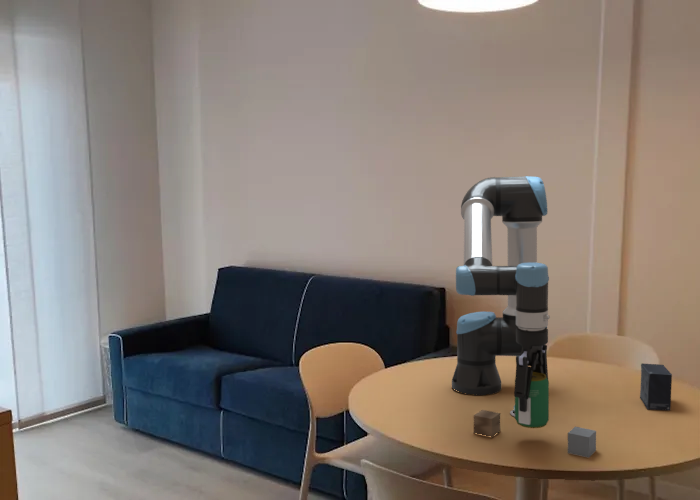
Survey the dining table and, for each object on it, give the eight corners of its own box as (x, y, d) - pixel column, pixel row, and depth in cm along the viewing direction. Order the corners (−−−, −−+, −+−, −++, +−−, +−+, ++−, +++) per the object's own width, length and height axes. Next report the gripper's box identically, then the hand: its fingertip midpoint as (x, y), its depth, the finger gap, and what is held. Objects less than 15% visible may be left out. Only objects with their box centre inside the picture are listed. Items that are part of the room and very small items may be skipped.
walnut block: (473, 434, 178) (473, 415, 177) (482, 428, 182) (482, 409, 181) (491, 438, 175) (491, 418, 174) (500, 432, 179) (500, 413, 178)
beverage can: (554, 421, 171) (554, 374, 170) (538, 431, 165) (538, 382, 164) (525, 414, 176) (525, 368, 175) (508, 423, 171) (508, 376, 169)
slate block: (567, 453, 164) (567, 432, 164) (575, 446, 168) (575, 426, 167) (588, 458, 161) (589, 437, 161) (595, 451, 165) (596, 430, 164)
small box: (672, 411, 190) (673, 374, 189) (647, 410, 191) (647, 373, 190) (663, 399, 200) (664, 363, 199) (639, 398, 202) (639, 362, 201)
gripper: (529, 338, 157) (529, 434, 160) (562, 320, 174) (561, 407, 177) (498, 334, 162) (499, 428, 165) (533, 317, 178) (533, 402, 181)
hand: (531, 417), depth 171 cm, fingers closed on beverage can, 8 cm apart
